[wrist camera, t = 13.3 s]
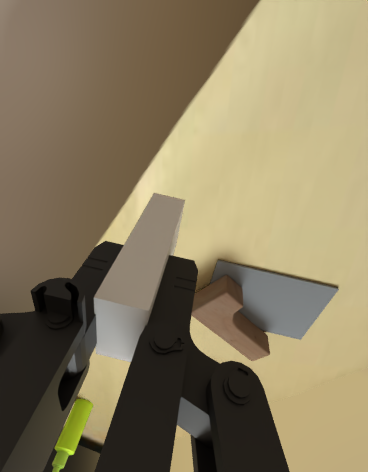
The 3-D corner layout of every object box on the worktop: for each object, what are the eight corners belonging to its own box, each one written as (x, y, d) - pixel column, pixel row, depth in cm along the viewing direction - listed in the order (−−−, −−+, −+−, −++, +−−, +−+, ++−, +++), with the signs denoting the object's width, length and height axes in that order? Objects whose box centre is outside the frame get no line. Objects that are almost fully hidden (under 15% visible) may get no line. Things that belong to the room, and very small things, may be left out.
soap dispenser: (71, 396, 86) (34, 476, 69) (91, 400, 85) (58, 481, 69) (75, 405, 89) (40, 482, 73) (94, 408, 88) (63, 487, 72)
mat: (337, 287, 44) (338, 289, 44) (300, 337, 53) (300, 339, 52) (217, 259, 45) (217, 261, 44) (199, 314, 53) (199, 315, 53)
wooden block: (226, 291, 42) (292, 347, 47) (226, 273, 45) (287, 326, 51) (188, 313, 46) (251, 362, 52) (191, 295, 50) (250, 342, 55)
